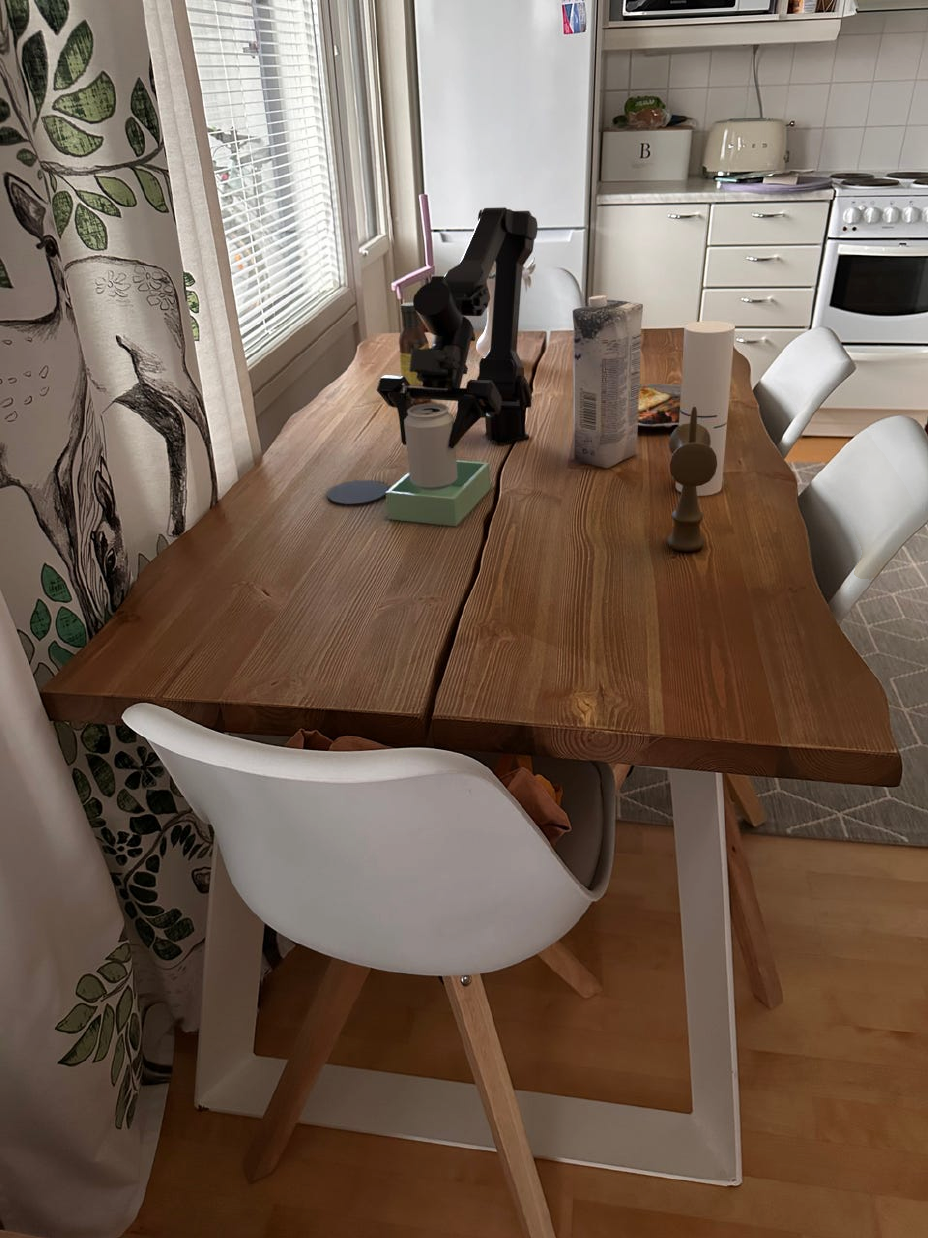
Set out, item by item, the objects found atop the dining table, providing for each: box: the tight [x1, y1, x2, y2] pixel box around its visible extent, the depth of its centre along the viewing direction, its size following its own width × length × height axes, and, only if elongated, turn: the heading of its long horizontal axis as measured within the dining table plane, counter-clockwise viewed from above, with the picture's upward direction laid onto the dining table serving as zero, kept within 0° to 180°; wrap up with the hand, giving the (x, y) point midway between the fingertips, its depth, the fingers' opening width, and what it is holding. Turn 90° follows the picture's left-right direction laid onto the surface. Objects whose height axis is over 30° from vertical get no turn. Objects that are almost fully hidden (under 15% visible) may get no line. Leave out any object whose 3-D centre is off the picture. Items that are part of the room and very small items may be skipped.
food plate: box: [638, 383, 681, 430], centre depth 179 cm, size 25×23×4 cm
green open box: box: [385, 459, 492, 527], centre depth 147 cm, size 15×11×4 cm
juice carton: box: [572, 294, 644, 469], centre depth 154 cm, size 9×10×27 cm
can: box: [404, 402, 458, 490], centre depth 141 cm, size 8×8×12 cm
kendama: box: [667, 406, 717, 552], centre depth 124 cm, size 6×10×20 cm, turn 171°
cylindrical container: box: [675, 320, 736, 497], centre depth 141 cm, size 7×7×25 cm
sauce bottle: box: [398, 301, 432, 404], centre depth 193 cm, size 6×6×20 cm
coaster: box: [326, 480, 389, 507], centre depth 154 cm, size 10×10×1 cm
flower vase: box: [475, 257, 537, 358], centre depth 216 cm, size 13×18×25 cm
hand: (427, 445), depth 140 cm, fingers closed on can, 7 cm apart
